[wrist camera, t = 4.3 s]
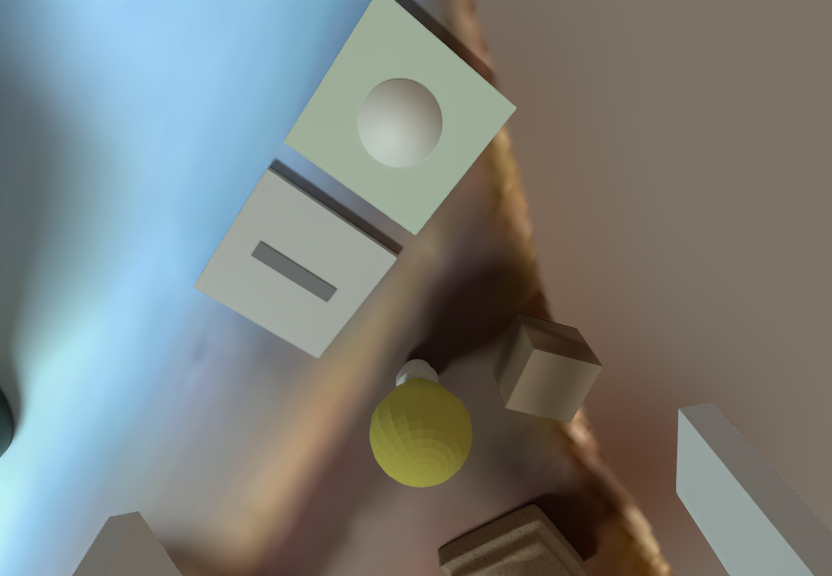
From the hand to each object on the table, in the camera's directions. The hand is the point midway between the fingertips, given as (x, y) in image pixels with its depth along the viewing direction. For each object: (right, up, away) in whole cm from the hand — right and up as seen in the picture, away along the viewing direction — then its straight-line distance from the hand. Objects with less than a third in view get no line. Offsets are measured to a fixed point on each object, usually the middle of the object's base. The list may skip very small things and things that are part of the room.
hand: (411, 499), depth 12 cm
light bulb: (0, -1, +26) cm, 26 cm away
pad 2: (-1, +15, +18) cm, 23 cm away
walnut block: (+9, +1, +25) cm, 27 cm away
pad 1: (-8, +6, +21) cm, 24 cm away
